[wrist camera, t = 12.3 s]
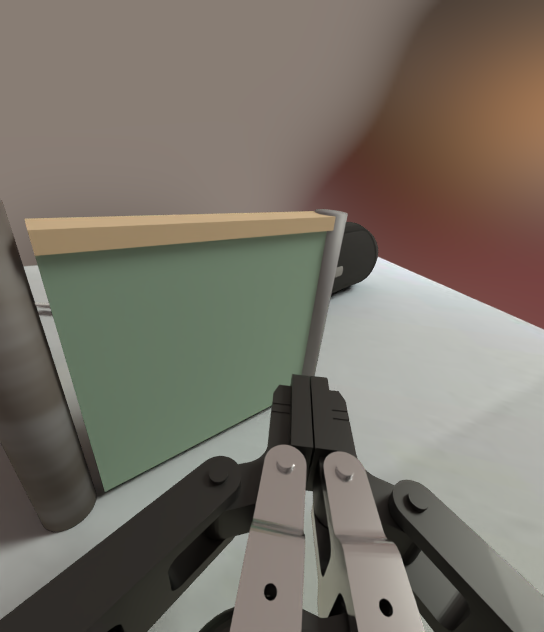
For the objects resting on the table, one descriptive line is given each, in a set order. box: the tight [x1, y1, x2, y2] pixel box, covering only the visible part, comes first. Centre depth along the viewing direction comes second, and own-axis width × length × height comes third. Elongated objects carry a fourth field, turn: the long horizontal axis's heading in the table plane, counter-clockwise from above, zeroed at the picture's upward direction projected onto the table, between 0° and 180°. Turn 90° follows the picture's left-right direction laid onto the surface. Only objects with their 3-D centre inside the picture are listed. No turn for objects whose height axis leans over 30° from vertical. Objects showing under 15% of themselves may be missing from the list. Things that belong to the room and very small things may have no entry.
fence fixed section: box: [0, 200, 96, 532], centre depth 16 cm, size 17×2×15 cm, turn 41°
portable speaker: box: [331, 222, 378, 294], centre depth 40 cm, size 26×10×10 cm, turn 136°
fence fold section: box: [25, 209, 348, 492], centre depth 17 cm, size 16×2×14 cm, turn 128°
